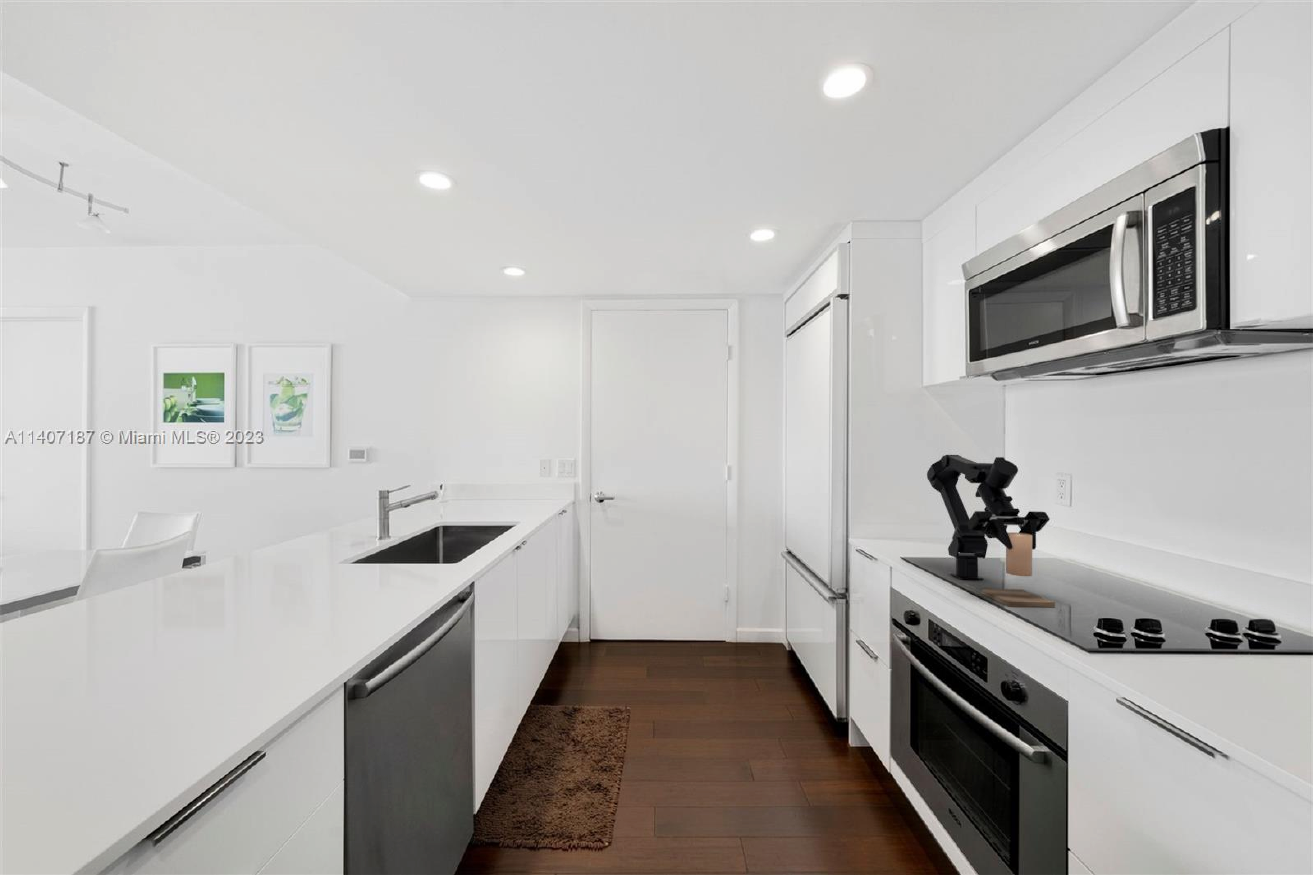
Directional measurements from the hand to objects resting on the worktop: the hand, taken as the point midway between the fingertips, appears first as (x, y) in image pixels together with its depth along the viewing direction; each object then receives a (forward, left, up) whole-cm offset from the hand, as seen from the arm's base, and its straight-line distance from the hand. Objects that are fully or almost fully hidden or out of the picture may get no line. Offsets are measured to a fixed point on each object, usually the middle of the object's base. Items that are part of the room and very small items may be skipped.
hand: (1022, 548), depth 140 cm
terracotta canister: (-1, 0, -7) cm, 7 cm away
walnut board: (-2, -1, -13) cm, 13 cm away
